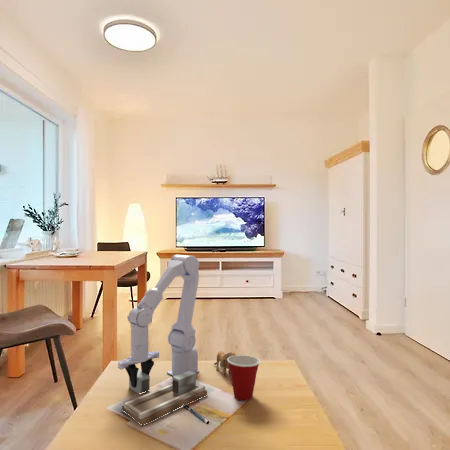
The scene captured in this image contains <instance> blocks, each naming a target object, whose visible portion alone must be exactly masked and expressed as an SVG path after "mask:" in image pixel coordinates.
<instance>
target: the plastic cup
mask: <svg viewBox="0 0 450 450" xmlns="http://www.w3.org/2000/svg"><path fill="white" fill-rule="evenodd" d="M235 355H236V356H231V357H228V358H227V361H228V363H229V368H230V373H231V375H230V379H231V385H232V391H233V392H232V393H233V396H234V399H235V400H237V399H238V401H241V400H243V401H244V402H245V401H250V400H252V398H253V395H254V390H255V385H256V380H257V373H258V368H259V366H260V363H261V360H260V358H258V357H256V356H252V355H243V354H242V355H241V354H240V355H239V354H238V355H237V354H235ZM243 401H242V402H243Z"/></svg>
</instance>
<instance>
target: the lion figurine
mask: <svg viewBox="0 0 450 450" xmlns="http://www.w3.org/2000/svg"><path fill="white" fill-rule="evenodd" d="M236 355H237V354H236V352H234V351H232V352H231V351H230V352H228V353H226V354H225V352H224V351H219V352H217V355H216V362H214V363H213V365H214V366H215V365H216V368H215V371H220V368H222V369H223V370H222V371H223V376H222V377H224V378H226V377H227V374H228V375H229V376H231V373H230V368H229V363H228V361H227V358H228V357H231V356H236ZM219 367H220V368H219ZM227 370H228V373H227Z"/></svg>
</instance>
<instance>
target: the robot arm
mask: <svg viewBox="0 0 450 450" xmlns="http://www.w3.org/2000/svg"><path fill="white" fill-rule="evenodd" d="M199 268H200V262H199V260H198V259H197V257H196V256H195V255H192V254H191V255H186V254H185V255H184V254H178V253H177V254H174V255H172V256H171V259H169V261H168V262H167V267H166V269H165V271H164V272H163V274H162V275H161V277H160V278H159V280H158V282H157V283H156V285H155V286H154V287H153V288H149V289H148V290H146V291H145V293H144V296H143V297H142V299H141V300H140V301H139V303H137V304H136V306H135V307H133V308H132V309H131V310H130V311H129V314H128V315H127V321H128V323H130V356H128V357H127V358H125V359H123V360H120V361H118V362H117V368H118V369H119V370H124V369H125V371H126V373H127V375H128V379H129V378H130V382H131V386H132V387H134V388H135V387H136V386H137V373H138V370H139V371H141V372H143V373H145V374H147V375H149V376H150V373H151V371H152V369H153V367H154V365H155V361H154V360H153V359H159V358H160V352H159V351H157V350H153V351H149V325H150V324H151V323H152V321H153V315H154V313H155V310H156V309H157V308H158V306H159V305H160V303H161V302H162V300H163V299H164V296H163V293H164V292H165V291H166V289H167V288H168V287H169V286H170V285H171V283H173V281H174V280H175V279H176V277H179V276H180V277H181V278H182V279H183V284H182V285H183V286H182V290H181V297H180V302H179V308H178V313H177V320H176V322H175V323H174V324H172V326H171V330H170V332H169V334H168V336H167V342H168V344H169V345H170V349H171V369H170V370H168V371H166V374H168V375H170V376H172V377H174V376H177V375H180V374H182V373H185V372H187V371H192V372H194V373H196V374H197V373H199V372H200V370H199V367H198V363H199V360H198V359H199V357H198V351H197V348H196V347H195V345H196V342H197V340H196V329H195V327H194V326H193V324H192V321H193V317H194V312H195V311H194V309H195V304H196V299H197V292H198V286H199V280H200V273H199ZM138 364H140V368H141V370H140V369H139V368H138V367H137V365H138Z"/></svg>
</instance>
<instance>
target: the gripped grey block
mask: <svg viewBox="0 0 450 450" xmlns="http://www.w3.org/2000/svg"><path fill="white" fill-rule="evenodd" d="M150 380H151V379H150V374H149V375H147V374H145V373H143V372H142V370H140V369H139V370H138V373H137V386H136V387H135V388H134V387H132V386H131V382H130V378H129V377H128V388H129V389H130V390H131V391H133V392H135V393H137V394H138V393H142V392H145V391H148V390H150V385H151V384H150V382H151V381H150ZM150 391H151V390H150Z"/></svg>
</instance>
